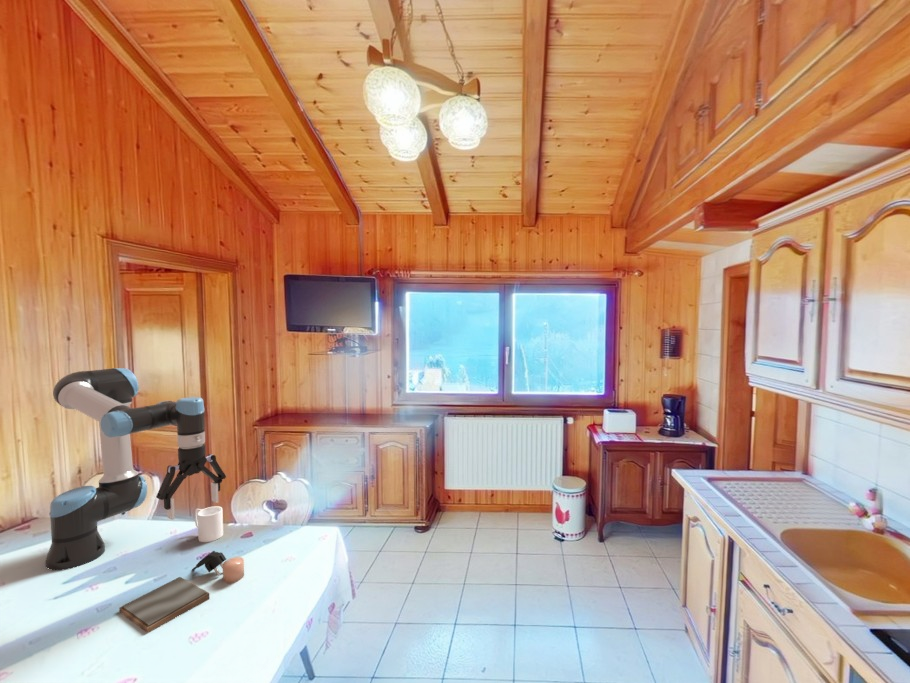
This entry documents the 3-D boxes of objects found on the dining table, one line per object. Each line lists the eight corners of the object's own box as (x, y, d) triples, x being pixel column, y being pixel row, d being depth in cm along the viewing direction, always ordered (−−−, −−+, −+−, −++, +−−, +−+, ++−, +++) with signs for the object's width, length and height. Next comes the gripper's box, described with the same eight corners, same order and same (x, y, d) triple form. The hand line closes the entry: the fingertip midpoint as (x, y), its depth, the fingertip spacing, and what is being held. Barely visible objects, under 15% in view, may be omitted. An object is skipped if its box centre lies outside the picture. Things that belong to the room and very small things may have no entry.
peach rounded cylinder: (219, 579, 131) (218, 564, 131) (236, 569, 136) (236, 555, 136) (230, 585, 128) (229, 570, 128) (248, 575, 133) (247, 560, 133)
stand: (119, 614, 115) (119, 606, 115) (180, 582, 129) (180, 575, 129) (147, 635, 107) (147, 627, 107) (209, 599, 121) (209, 591, 121)
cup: (204, 528, 163) (203, 503, 163) (228, 532, 160) (227, 507, 159) (185, 538, 156) (184, 513, 155) (209, 543, 152) (209, 517, 152)
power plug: (198, 562, 138) (221, 544, 136) (210, 581, 138) (234, 563, 136) (184, 572, 133) (208, 553, 131) (197, 592, 132) (221, 573, 130)
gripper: (153, 458, 119) (156, 529, 120) (235, 437, 141) (237, 497, 142) (141, 454, 123) (144, 523, 124) (223, 434, 145) (225, 493, 146)
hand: (194, 509), depth 133 cm, fingers open, 13 cm apart
